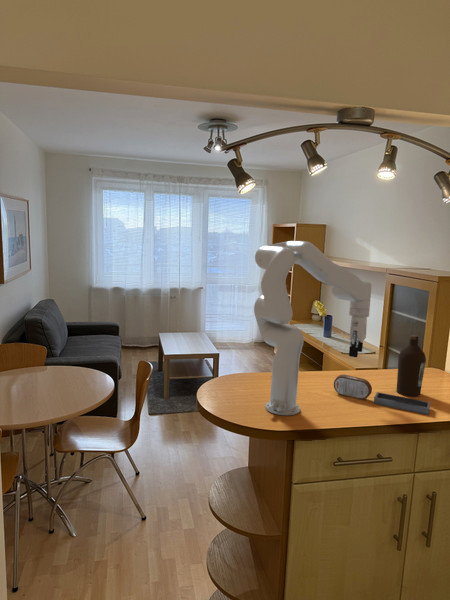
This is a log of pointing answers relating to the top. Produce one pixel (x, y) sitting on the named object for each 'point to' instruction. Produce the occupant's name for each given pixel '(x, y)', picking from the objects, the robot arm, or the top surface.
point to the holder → (402, 403)
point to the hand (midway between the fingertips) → (355, 353)
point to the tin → (352, 387)
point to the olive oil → (411, 369)
